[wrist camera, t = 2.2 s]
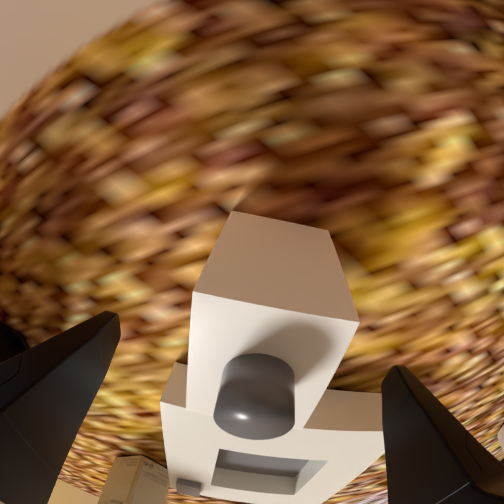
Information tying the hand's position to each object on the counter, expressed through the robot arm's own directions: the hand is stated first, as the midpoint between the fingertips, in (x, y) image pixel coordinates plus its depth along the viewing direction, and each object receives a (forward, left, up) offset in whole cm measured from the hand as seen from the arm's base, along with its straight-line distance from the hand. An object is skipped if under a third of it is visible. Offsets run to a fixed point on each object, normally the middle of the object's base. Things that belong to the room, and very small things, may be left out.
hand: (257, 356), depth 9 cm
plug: (0, 0, -5) cm, 5 cm away
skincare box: (-8, -27, -5) cm, 29 cm away
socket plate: (+3, -15, -5) cm, 16 cm away
